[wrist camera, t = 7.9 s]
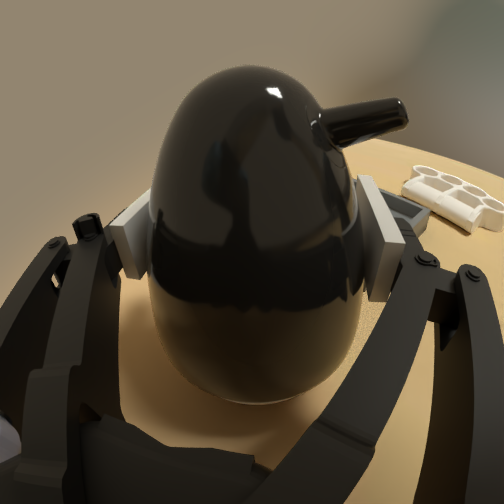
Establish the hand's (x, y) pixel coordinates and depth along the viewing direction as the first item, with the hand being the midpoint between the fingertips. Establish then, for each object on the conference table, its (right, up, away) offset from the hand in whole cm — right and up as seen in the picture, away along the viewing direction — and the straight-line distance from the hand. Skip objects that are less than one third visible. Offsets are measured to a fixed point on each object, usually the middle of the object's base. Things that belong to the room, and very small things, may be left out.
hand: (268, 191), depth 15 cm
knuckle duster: (+29, +3, +19) cm, 34 cm away
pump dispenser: (0, -10, +1) cm, 10 cm away
